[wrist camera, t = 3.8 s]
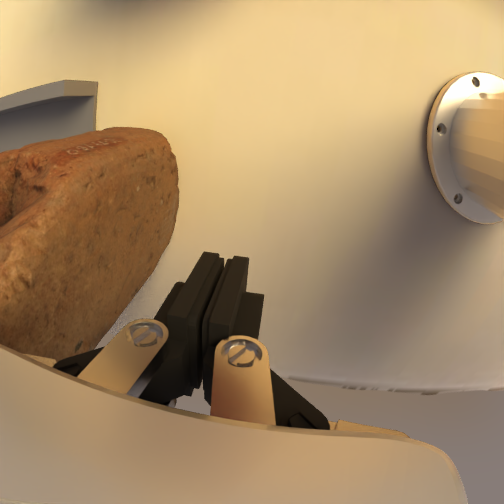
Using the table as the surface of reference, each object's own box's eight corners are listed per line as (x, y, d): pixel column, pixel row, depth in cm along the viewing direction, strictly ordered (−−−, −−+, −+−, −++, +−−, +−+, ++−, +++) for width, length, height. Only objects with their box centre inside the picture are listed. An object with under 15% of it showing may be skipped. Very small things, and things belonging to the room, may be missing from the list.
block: (170, 261, 25) (33, 470, 7) (98, 235, 25) (-64, 384, 7) (200, 136, 21) (-84, 252, 3) (115, 116, 20) (-134, 182, 2)
